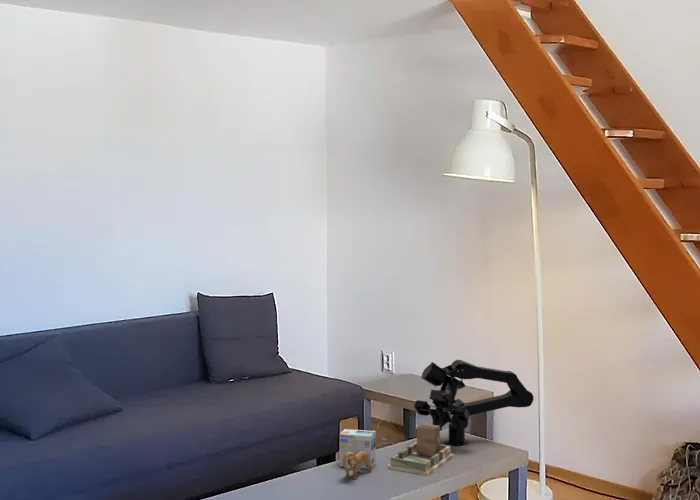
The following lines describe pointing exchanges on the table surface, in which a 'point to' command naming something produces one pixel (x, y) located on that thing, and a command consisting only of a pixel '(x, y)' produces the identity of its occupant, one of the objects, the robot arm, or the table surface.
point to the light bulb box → (358, 444)
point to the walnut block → (428, 439)
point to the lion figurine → (355, 462)
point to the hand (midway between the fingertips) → (434, 432)
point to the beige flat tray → (420, 460)
